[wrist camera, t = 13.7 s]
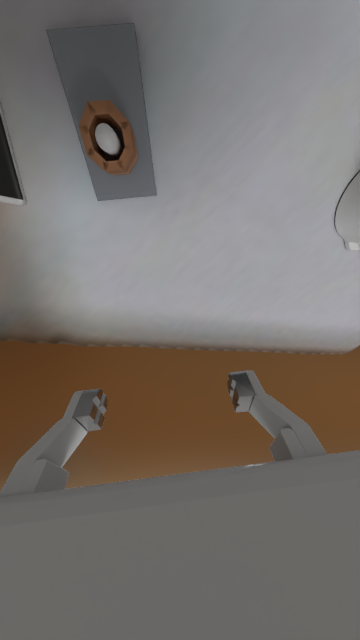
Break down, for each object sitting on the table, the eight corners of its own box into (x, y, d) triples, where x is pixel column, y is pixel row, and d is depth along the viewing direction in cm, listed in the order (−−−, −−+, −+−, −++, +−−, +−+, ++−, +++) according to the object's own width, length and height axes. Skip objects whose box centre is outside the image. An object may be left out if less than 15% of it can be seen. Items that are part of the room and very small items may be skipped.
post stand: (135, 31, 20) (124, -34, 15) (156, 195, 30) (155, 195, 24) (51, 37, 20) (7, -26, 14) (100, 200, 30) (84, 202, 24)
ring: (131, 115, 23) (124, 98, 19) (140, 172, 27) (137, 169, 23) (87, 119, 23) (71, 102, 19) (102, 176, 27) (92, 173, 23)
